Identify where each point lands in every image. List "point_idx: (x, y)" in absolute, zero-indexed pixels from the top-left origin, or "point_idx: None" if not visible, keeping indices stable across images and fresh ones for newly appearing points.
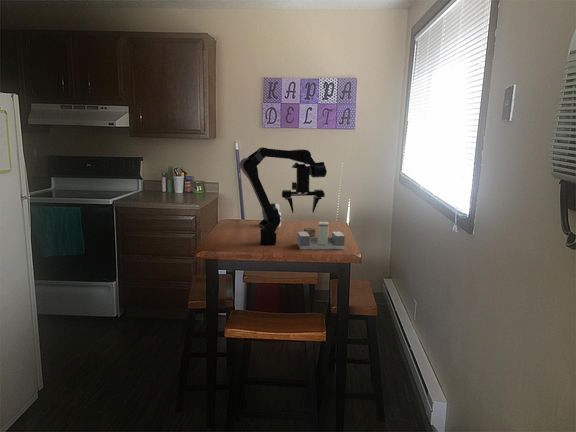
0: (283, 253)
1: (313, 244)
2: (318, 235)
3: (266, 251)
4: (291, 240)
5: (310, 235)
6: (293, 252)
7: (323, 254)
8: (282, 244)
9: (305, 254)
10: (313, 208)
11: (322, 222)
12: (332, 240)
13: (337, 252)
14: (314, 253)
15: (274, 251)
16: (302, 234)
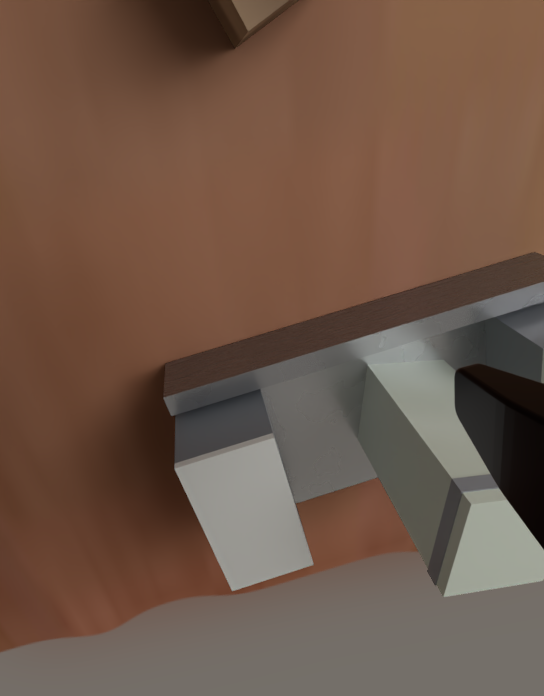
0: (135, 605)
1: (322, 460)
2: (387, 491)
3: (6, 607)
4: (71, 237)
5: (273, 17)
6: (192, 570)
7: (376, 548)
8: (40, 416)
9: (272, 580)
10: (531, 523)
11: (499, 534)
12: (492, 338)
13: None
14: (324, 548)
15: (60, 591)
16: (243, 549)
